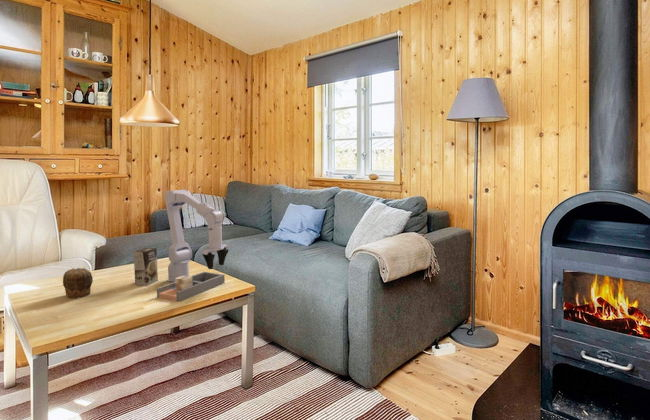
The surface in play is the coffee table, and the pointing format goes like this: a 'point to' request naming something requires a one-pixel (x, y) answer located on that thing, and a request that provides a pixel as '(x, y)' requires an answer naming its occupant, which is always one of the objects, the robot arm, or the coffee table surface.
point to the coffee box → (145, 266)
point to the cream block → (183, 282)
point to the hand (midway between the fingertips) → (216, 266)
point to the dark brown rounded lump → (77, 282)
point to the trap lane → (200, 284)
